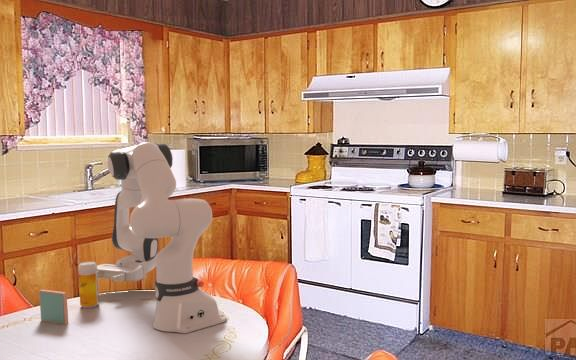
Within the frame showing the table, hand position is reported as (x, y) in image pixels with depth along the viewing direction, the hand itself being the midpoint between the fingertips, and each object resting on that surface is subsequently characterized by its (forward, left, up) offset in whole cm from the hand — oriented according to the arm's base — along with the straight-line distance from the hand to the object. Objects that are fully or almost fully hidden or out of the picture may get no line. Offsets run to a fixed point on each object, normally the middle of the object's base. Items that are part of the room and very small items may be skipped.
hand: (102, 278), depth 193 cm
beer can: (+5, +4, -8) cm, 11 cm away
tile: (+18, +15, -8) cm, 24 cm away
